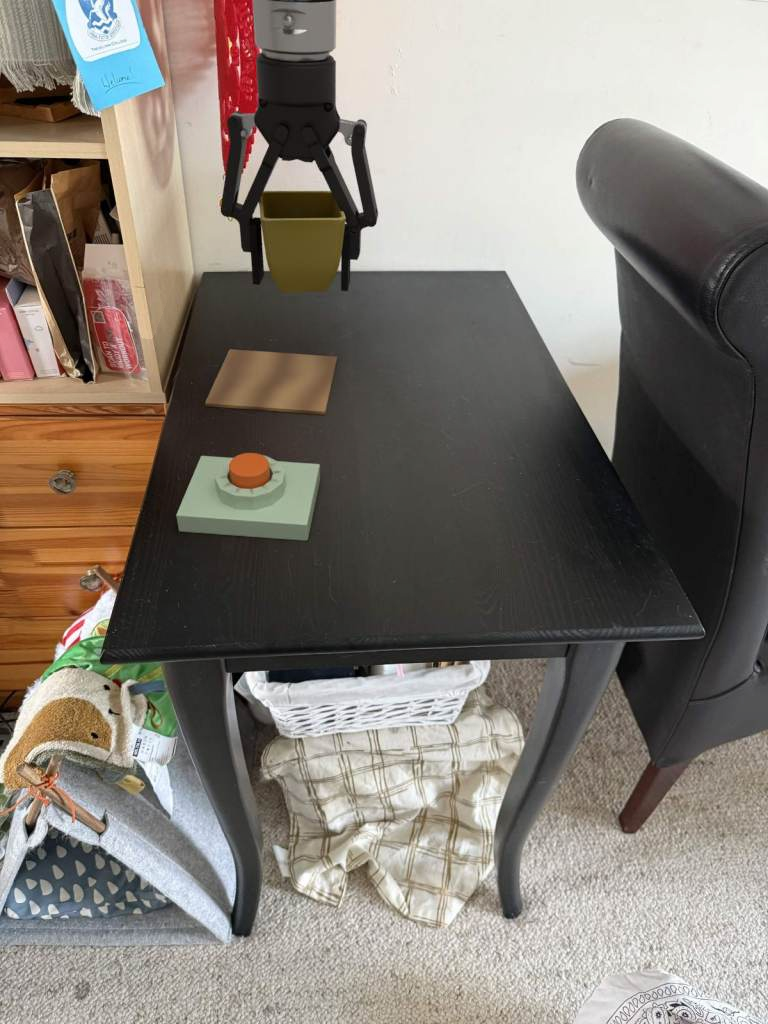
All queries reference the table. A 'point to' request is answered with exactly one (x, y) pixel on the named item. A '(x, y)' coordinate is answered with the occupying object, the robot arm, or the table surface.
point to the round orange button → (249, 470)
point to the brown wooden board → (273, 382)
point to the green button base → (250, 501)
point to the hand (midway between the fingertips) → (302, 282)
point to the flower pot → (302, 238)
